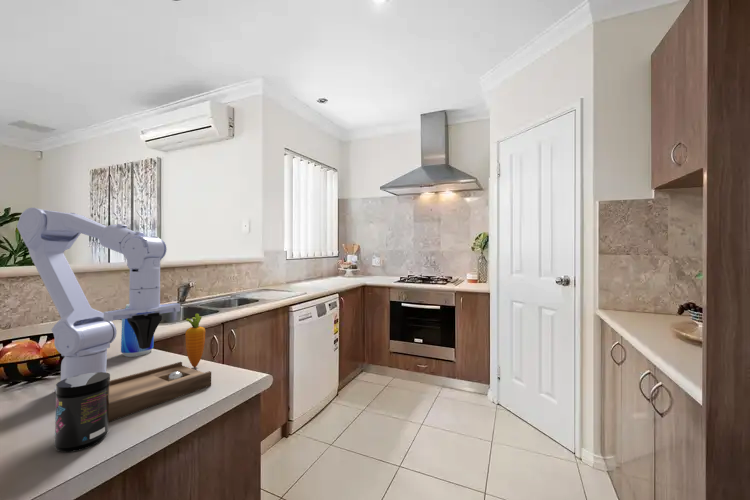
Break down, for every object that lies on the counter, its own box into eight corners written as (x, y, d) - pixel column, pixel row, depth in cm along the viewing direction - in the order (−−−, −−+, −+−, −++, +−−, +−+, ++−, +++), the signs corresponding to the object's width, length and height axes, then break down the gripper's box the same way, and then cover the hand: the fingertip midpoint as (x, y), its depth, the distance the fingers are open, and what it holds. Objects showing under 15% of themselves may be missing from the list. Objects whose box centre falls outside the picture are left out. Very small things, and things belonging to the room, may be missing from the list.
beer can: (147, 348, 107) (149, 301, 108) (157, 352, 102) (158, 303, 103) (117, 354, 100) (118, 304, 101) (126, 359, 96) (127, 306, 96)
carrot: (195, 371, 86) (196, 316, 86) (180, 369, 87) (181, 315, 87) (208, 365, 91) (209, 313, 91) (194, 363, 92) (195, 312, 92)
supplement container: (83, 430, 56) (85, 371, 57) (118, 431, 56) (120, 372, 56) (41, 453, 50) (43, 386, 50) (81, 455, 49) (83, 388, 49)
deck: (75, 405, 65) (75, 389, 65) (180, 374, 83) (180, 361, 83) (102, 424, 58) (102, 406, 58) (211, 385, 76) (211, 371, 76)
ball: (165, 387, 75) (164, 374, 76) (178, 383, 78) (177, 370, 79) (173, 387, 74) (172, 373, 74) (186, 382, 77) (185, 369, 77)
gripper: (113, 292, 64) (113, 359, 63) (187, 286, 76) (186, 342, 76) (99, 290, 67) (99, 354, 67) (171, 285, 80) (171, 339, 79)
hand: (144, 347), depth 72 cm, fingers closed
